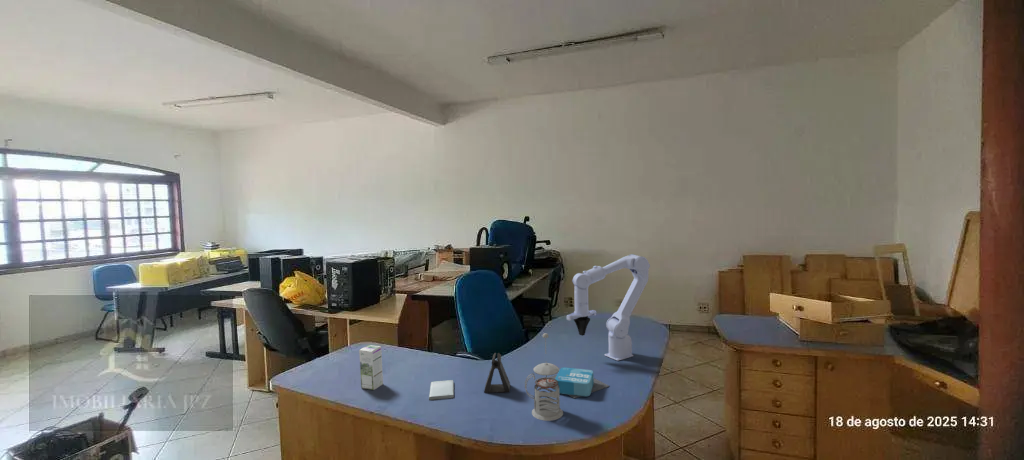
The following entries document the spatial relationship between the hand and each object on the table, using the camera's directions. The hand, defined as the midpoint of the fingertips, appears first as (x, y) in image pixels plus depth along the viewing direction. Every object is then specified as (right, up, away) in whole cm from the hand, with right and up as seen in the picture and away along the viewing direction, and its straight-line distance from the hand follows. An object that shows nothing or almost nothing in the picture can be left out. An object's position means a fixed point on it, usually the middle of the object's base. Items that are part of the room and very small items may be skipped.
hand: (581, 334), depth 167 cm
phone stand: (-34, -13, -25) cm, 44 cm away
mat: (-6, -12, -22) cm, 26 cm away
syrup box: (-80, -14, -20) cm, 84 cm away
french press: (-19, -13, -43) cm, 49 cm away
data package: (-5, -9, -21) cm, 23 cm away
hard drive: (-54, -14, -25) cm, 61 cm away
